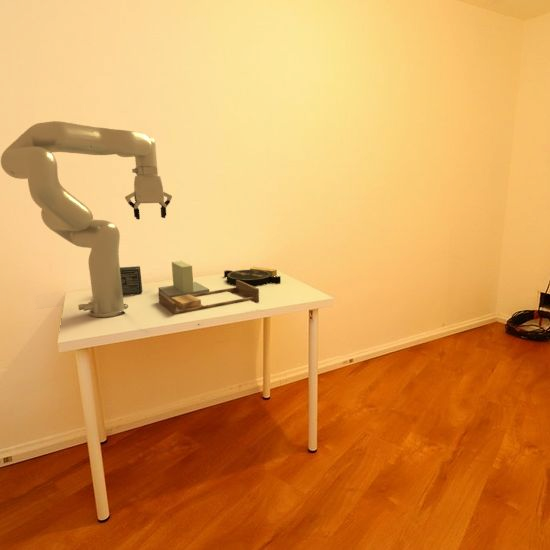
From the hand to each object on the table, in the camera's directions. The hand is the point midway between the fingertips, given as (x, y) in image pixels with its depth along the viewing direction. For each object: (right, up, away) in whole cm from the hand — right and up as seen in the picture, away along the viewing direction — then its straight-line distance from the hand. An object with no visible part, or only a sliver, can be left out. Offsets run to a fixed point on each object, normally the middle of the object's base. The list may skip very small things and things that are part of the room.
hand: (150, 218), depth 147 cm
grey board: (+11, -29, +7) cm, 32 cm away
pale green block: (+11, -27, +6) cm, 30 cm away
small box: (-12, -29, +10) cm, 33 cm away
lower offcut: (+16, -34, -9) cm, 39 cm away
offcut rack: (+24, -32, -5) cm, 40 cm away
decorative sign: (+37, -24, +30) cm, 54 cm away
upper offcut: (+16, -32, -10) cm, 37 cm away
